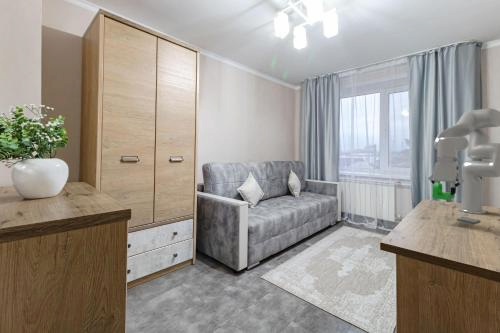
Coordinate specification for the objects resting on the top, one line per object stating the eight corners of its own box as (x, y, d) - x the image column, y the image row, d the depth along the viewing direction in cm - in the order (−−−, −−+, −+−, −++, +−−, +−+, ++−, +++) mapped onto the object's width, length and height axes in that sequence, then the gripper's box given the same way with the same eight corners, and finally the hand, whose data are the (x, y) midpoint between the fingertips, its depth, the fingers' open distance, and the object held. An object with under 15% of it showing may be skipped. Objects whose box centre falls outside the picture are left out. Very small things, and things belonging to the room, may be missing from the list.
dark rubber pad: (463, 218, 128) (463, 216, 128) (480, 221, 122) (480, 220, 122) (456, 220, 124) (456, 218, 124) (474, 223, 118) (474, 222, 118)
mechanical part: (446, 200, 118) (447, 184, 117) (432, 197, 123) (433, 183, 123) (456, 197, 124) (457, 182, 123) (443, 195, 129) (443, 181, 128)
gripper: (470, 160, 116) (468, 195, 118) (430, 159, 131) (429, 190, 133) (464, 161, 113) (462, 197, 114) (424, 160, 128) (422, 191, 129)
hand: (444, 193), depth 123 cm, fingers closed on mechanical part, 6 cm apart
